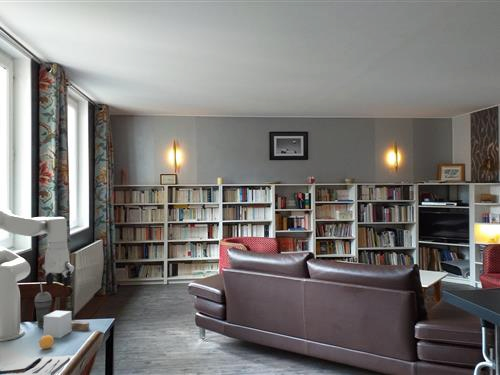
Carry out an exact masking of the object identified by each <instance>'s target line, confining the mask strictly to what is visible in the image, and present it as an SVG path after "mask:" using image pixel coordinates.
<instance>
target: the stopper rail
mask: <svg viewBox="0 0 500 375" xmlns="http://www.w3.org/2000/svg"><path fill="white" fill-rule="evenodd" d="M88 329H89V330H90V322H87V321H85V322H84V321H73V320H72V330H73V331H82V330H84V331H86V330H87V331H89V330H88Z"/></svg>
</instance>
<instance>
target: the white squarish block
mask: <svg viewBox="0 0 500 375" xmlns="http://www.w3.org/2000/svg"><path fill="white" fill-rule="evenodd" d="M72 319H73V318H72V311H70V310H54V311H52V312H50V314H47V315H45V316H44V327H43V337H44V336H46V335H50V336H52V337H53V339H54V338H55V339H60V338H62V337H64V336H66V335H68V334H69V333H71V332H72V321H73V320H72Z"/></svg>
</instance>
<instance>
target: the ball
mask: <svg viewBox="0 0 500 375" xmlns="http://www.w3.org/2000/svg"><path fill="white" fill-rule="evenodd" d="M54 342H55V340H54V338H53V337H52V336H50V335H46V336H44V335H43V336H42V337H41V338H40V340H39V346H40V348H42V349H45V350H47V349H49V348H51V347H52V346H53V344H54Z"/></svg>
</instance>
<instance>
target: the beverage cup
mask: <svg viewBox="0 0 500 375" xmlns="http://www.w3.org/2000/svg"><path fill="white" fill-rule="evenodd" d="M39 284H40V291H41V292H39V293H37V295H35V298H34V307H35V314H36V321H37V327H38V328H44V327H43V326H44V316H45V315H47V314H50V313H51V305H52V301H53V299H52V298H53V297H52V295H51V293H50V292H48V291H43V285H42V281H41V282H40V283H39Z"/></svg>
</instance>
